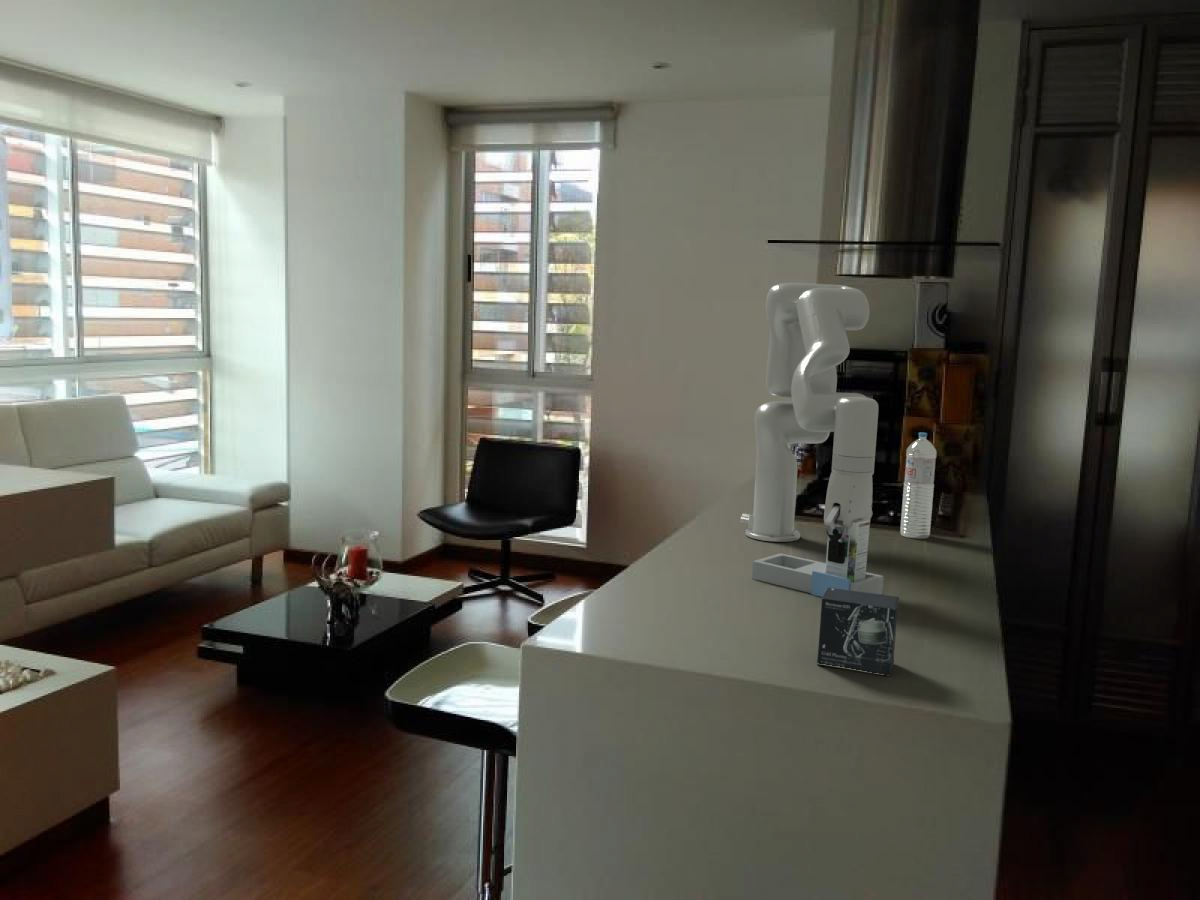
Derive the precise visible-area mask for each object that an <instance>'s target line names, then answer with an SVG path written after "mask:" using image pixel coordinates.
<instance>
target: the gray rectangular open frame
mask: <svg viewBox="0 0 1200 900" xmlns="http://www.w3.org/2000/svg"><path fill="white" fill-rule="evenodd" d="M825 570H826V562H822V561H817V560H812V559H808V558H805V557H804V558H803V557H800V556H796V555H795V556H794V555H789V554H785V553H777V554H773V555H770V556H767V557H766V556H765V557H763V558H758V559H755V560H753V561H752V571H751V572H752V573H751V579H752V580H756V581H760V582H764V583H768V584H772V585H777V586H779V587H784V588H787V589H792V590H795V591H800V592H804V593H809V594H810V595H812V596H816V597H819V598H822V597H823V594H824V592H825V590H826V589H827V588H835V589H843V590H850V591H858V592H865V593H872V594H880V595H883V589H884V587H883V586H884V576H883V575H881V574H875V573H871V572H867V571H866V575H865V580H862V581H859V582H857V583H852V582H851V579H848V578H844V577H839V576H835V575H831V574H826V573H825Z"/></svg>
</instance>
